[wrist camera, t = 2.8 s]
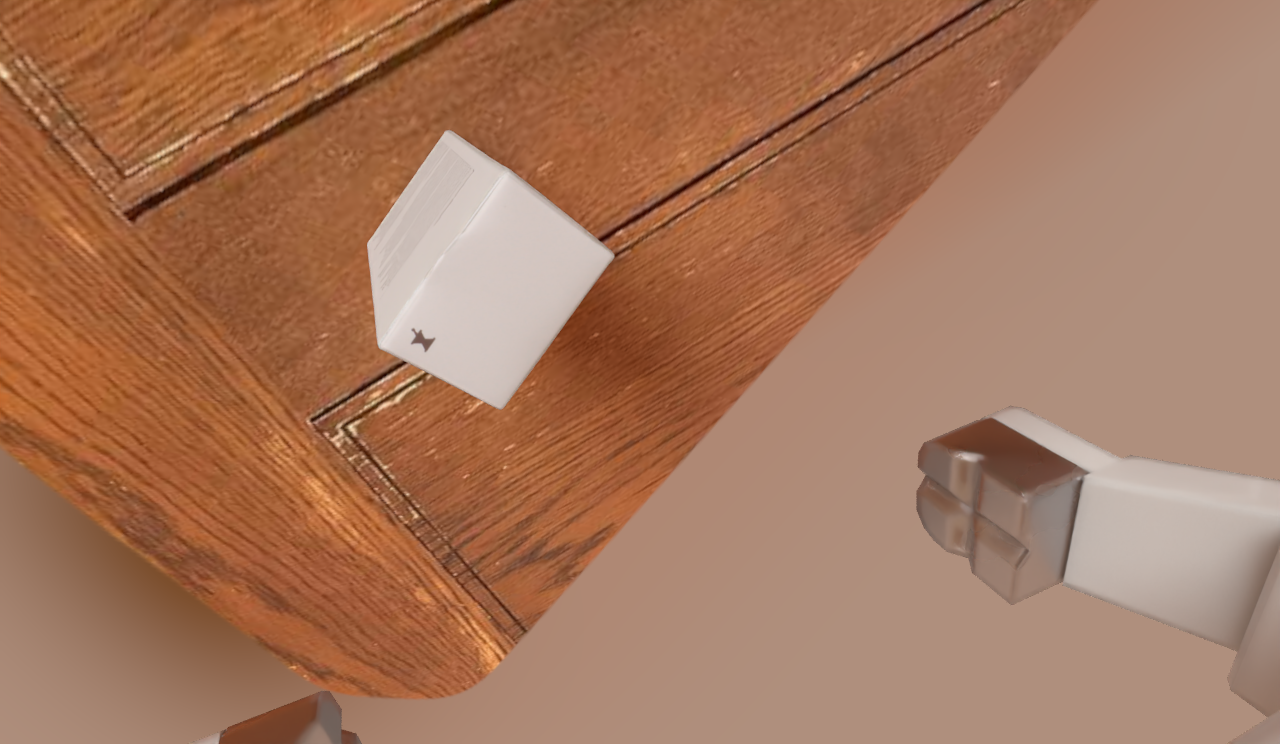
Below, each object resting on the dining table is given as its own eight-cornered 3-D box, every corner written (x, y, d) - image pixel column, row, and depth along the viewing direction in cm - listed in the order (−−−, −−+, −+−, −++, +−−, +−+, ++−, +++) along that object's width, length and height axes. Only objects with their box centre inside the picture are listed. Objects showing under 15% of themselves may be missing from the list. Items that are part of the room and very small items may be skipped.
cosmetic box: (451, 297, 30) (499, 419, 20) (364, 243, 28) (368, 349, 18) (531, 187, 29) (622, 256, 19) (448, 123, 27) (502, 162, 17)
